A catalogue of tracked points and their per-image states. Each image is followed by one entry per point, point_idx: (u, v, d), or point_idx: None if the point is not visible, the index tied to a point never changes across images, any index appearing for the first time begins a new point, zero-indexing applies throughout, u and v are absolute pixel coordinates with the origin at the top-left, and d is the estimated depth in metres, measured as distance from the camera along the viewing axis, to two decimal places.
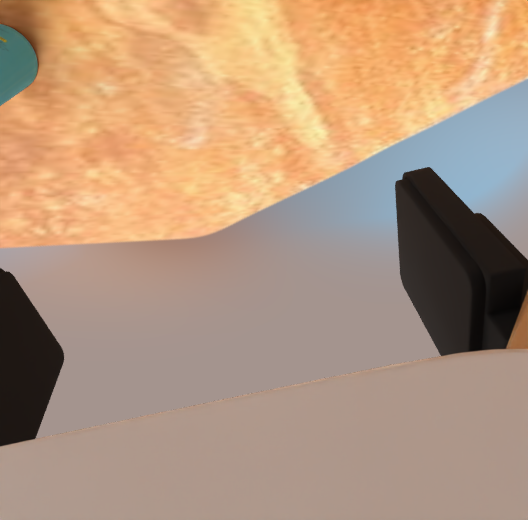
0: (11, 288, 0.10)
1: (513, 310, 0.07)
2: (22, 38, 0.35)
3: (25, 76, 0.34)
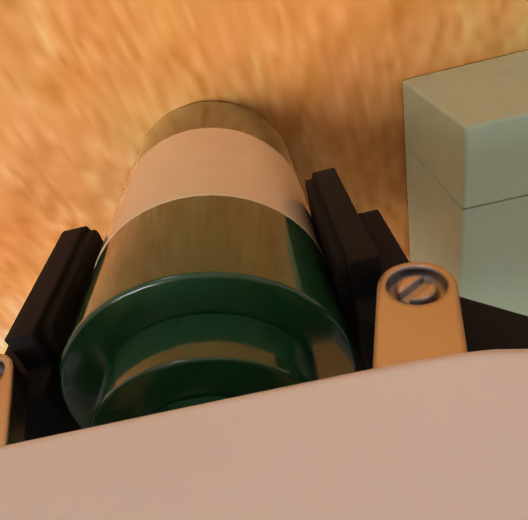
0: (99, 245, 0.11)
1: (377, 294, 0.08)
2: None
3: None
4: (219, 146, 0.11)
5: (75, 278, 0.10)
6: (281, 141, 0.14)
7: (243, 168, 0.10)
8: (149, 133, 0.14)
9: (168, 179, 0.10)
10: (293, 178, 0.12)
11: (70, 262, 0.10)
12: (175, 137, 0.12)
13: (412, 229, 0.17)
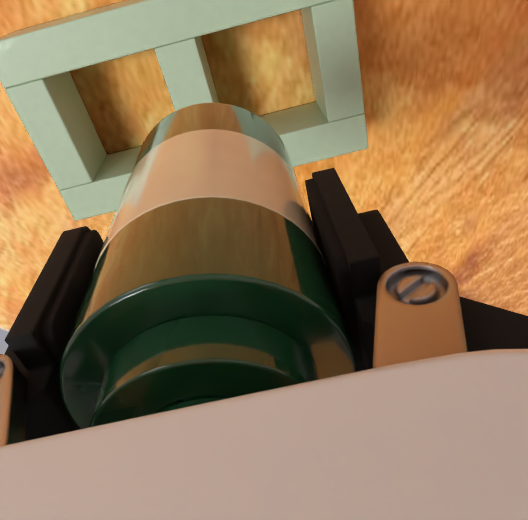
0: (99, 245, 0.11)
1: (377, 294, 0.08)
2: None
3: None
4: (219, 148, 0.11)
5: (75, 278, 0.10)
6: (281, 142, 0.14)
7: (243, 170, 0.10)
8: (149, 134, 0.14)
9: (168, 181, 0.10)
10: (293, 179, 0.12)
11: (70, 262, 0.10)
12: (175, 138, 0.12)
13: None
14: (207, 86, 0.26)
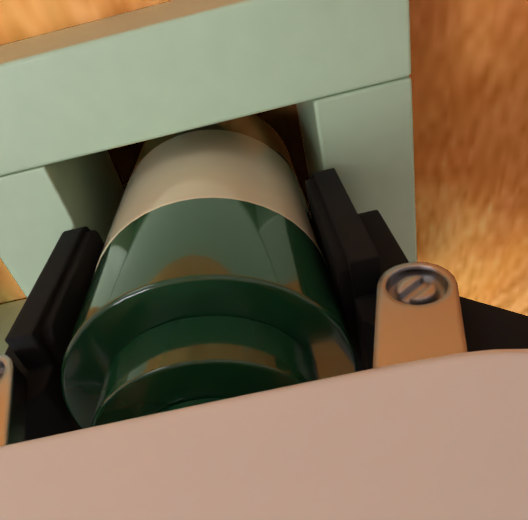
0: (99, 245, 0.11)
1: (377, 294, 0.08)
2: None
3: None
4: (220, 148, 0.11)
5: (75, 278, 0.10)
6: (281, 143, 0.14)
7: (243, 170, 0.10)
8: None
9: (169, 181, 0.10)
10: (293, 180, 0.12)
11: (70, 262, 0.10)
12: (176, 139, 0.12)
13: None
14: None
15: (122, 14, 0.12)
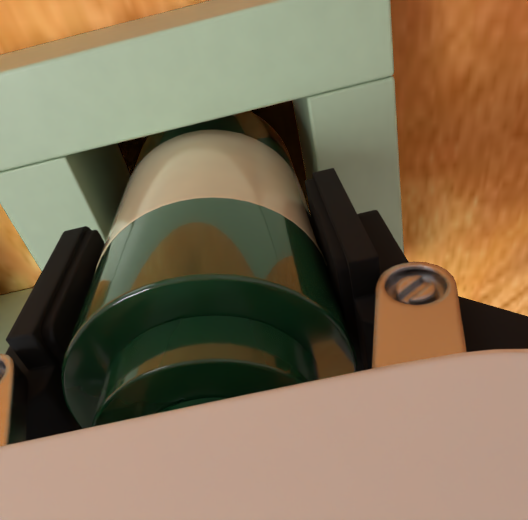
0: (99, 245, 0.11)
1: (376, 294, 0.08)
2: None
3: None
4: (220, 148, 0.11)
5: (76, 278, 0.10)
6: (281, 143, 0.14)
7: (243, 170, 0.10)
8: (150, 135, 0.14)
9: (169, 181, 0.10)
10: (293, 180, 0.12)
11: (71, 262, 0.10)
12: (176, 139, 0.12)
13: None
14: (103, 239, 0.13)
15: (134, 20, 0.14)
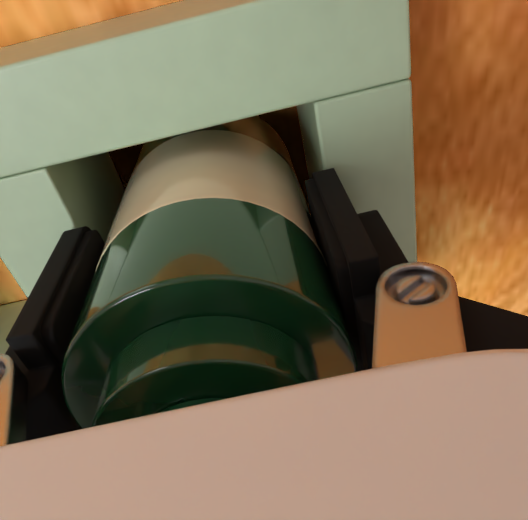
0: (99, 245, 0.11)
1: None
2: None
3: None
4: (220, 148, 0.11)
5: (76, 278, 0.10)
6: (281, 143, 0.14)
7: (244, 170, 0.10)
8: None
9: (169, 182, 0.10)
10: (293, 180, 0.12)
11: (71, 262, 0.10)
12: (176, 139, 0.12)
13: None
14: None
15: (123, 16, 0.13)
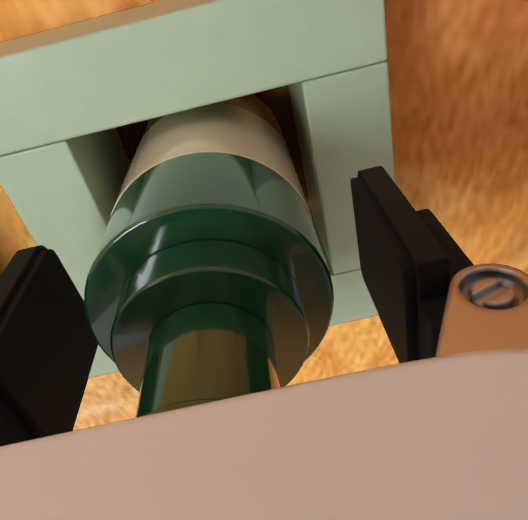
0: (55, 265, 0.11)
1: (443, 298, 0.08)
2: None
3: None
4: (218, 116, 0.12)
5: (22, 302, 0.09)
6: (274, 118, 0.16)
7: (238, 133, 0.12)
8: None
9: (174, 141, 0.11)
10: (283, 147, 0.13)
11: (20, 285, 0.10)
12: None
13: None
14: (103, 223, 0.13)
15: (132, 8, 0.14)
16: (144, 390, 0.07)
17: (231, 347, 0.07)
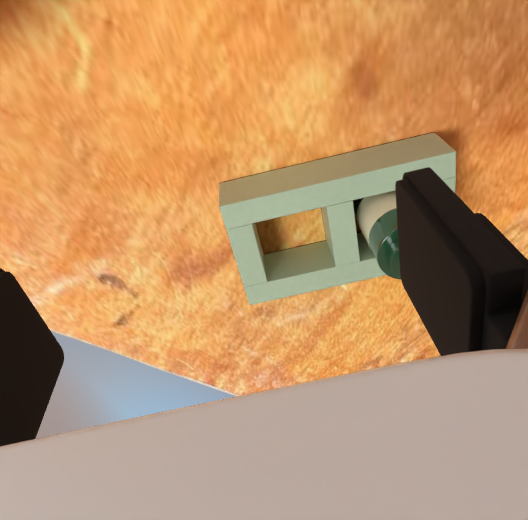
0: (11, 288, 0.10)
1: (513, 310, 0.07)
2: None
3: None
4: None
5: None
6: None
7: None
8: None
9: (391, 201, 0.37)
10: None
11: None
12: None
13: None
14: (355, 226, 0.39)
15: (361, 150, 0.40)
16: None
17: None
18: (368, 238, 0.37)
